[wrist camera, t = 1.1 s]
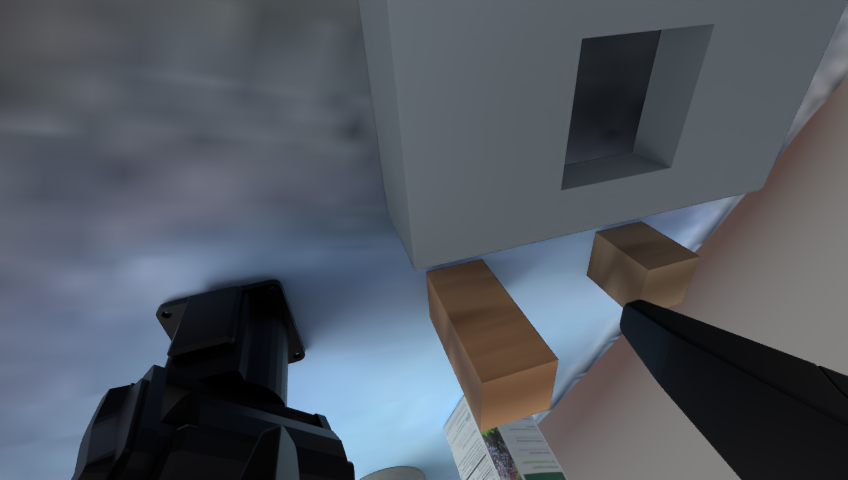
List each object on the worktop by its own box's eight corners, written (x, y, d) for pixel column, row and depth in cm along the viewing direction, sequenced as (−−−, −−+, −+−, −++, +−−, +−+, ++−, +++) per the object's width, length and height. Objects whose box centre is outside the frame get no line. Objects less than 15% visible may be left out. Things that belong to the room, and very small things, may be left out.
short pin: (629, 263, 30) (681, 303, 26) (586, 275, 29) (633, 317, 25) (640, 221, 28) (700, 256, 24) (595, 231, 27) (648, 270, 23)
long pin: (481, 303, 27) (549, 409, 20) (429, 316, 27) (481, 432, 19) (482, 259, 25) (558, 359, 18) (426, 272, 25) (482, 383, 17)
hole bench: (672, 155, 25) (762, 189, 21) (387, 211, 21) (414, 270, 16) (731, -46, 20) (878, -66, 15) (355, -21, 16) (382, -37, 11)
